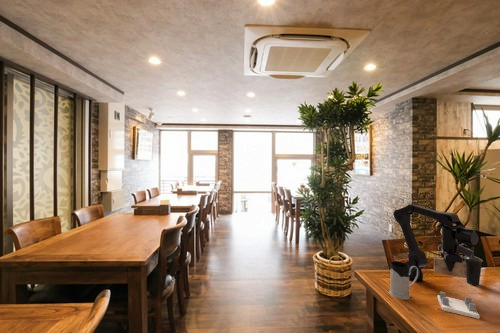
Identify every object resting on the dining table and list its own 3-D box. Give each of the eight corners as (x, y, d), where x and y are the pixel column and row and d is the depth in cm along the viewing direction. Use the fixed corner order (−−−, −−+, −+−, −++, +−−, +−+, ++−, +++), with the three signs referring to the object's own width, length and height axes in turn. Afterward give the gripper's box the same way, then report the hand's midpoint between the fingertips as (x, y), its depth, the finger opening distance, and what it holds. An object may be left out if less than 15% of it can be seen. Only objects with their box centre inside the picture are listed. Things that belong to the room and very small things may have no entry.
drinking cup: (486, 287, 123) (486, 249, 123) (469, 286, 124) (469, 248, 124) (475, 281, 130) (475, 244, 130) (459, 279, 132) (459, 244, 132)
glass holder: (385, 290, 120) (385, 260, 120) (411, 289, 121) (411, 260, 121) (397, 299, 111) (397, 268, 111) (425, 298, 112) (425, 267, 112)
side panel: (442, 310, 103) (442, 300, 103) (437, 298, 113) (437, 288, 113) (479, 318, 97) (479, 308, 97) (470, 305, 107) (470, 295, 107)
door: (434, 272, 117) (434, 258, 117) (433, 270, 120) (433, 256, 120) (466, 278, 111) (466, 263, 112) (464, 275, 114) (464, 261, 114)
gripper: (478, 246, 104) (478, 282, 104) (464, 236, 120) (465, 266, 120) (445, 242, 109) (446, 276, 109) (437, 233, 126) (437, 262, 125)
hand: (449, 270), depth 116 cm, fingers closed on door, 3 cm apart
